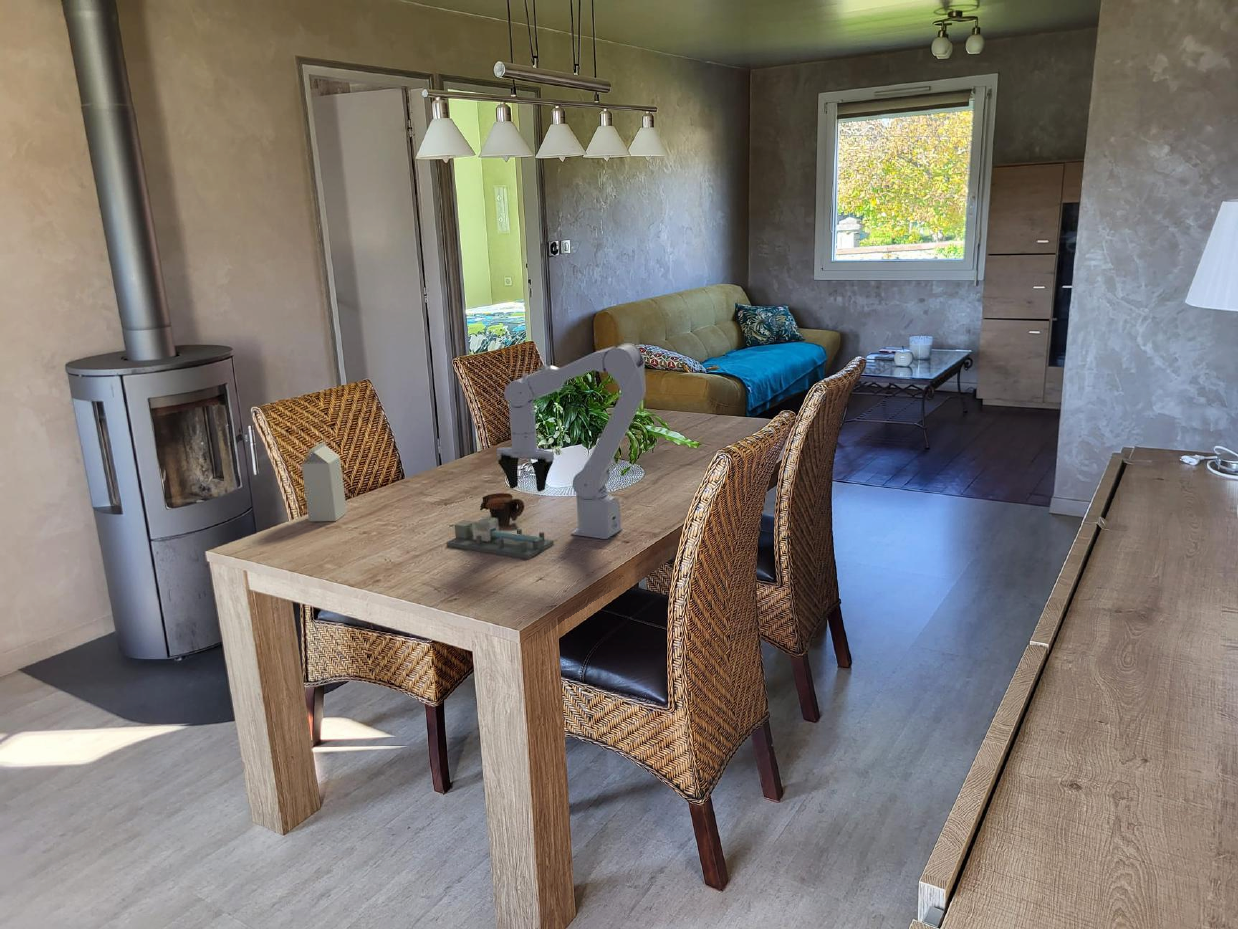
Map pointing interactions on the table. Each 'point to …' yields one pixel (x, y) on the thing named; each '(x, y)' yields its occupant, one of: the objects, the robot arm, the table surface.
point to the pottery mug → (503, 507)
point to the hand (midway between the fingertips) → (527, 488)
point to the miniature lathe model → (499, 542)
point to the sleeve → (484, 527)
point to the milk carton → (323, 484)
